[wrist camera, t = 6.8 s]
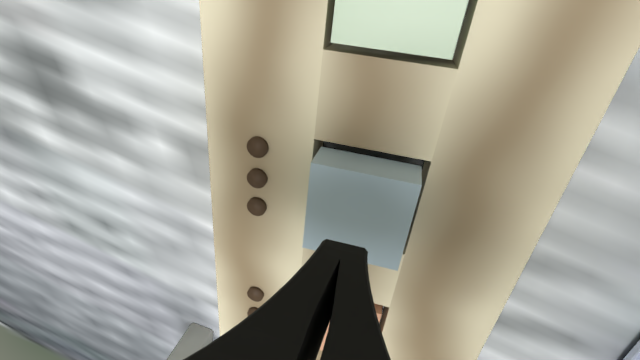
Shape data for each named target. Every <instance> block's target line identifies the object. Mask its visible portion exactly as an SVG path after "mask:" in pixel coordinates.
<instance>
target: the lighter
mask: <svg viewBox="0 0 640 360" xmlns="http://www.w3.org/2000/svg"><path fill="white" fill-rule="evenodd" d="M212 340H213V331H212V330H211V329H209V328H206V327H203V326H201V325H198V324H196V323H191V325H190V326H189V328H188V329H187V331H186V332H185V333H184V335H183V336H182V338H181V339H180V341H179V342H178V344H177V345H176V347H175V348H174V349H173V351H172V352H171V354H170V355H169V357H168V358H167V360H183V359H185V358H187V357H188V356H190V355H192V354H193V353H195V352H197V351H198V350H200V349H202V348H203V347H205V346H207V345H208V344H210V343H211V342H212Z"/></svg>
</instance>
